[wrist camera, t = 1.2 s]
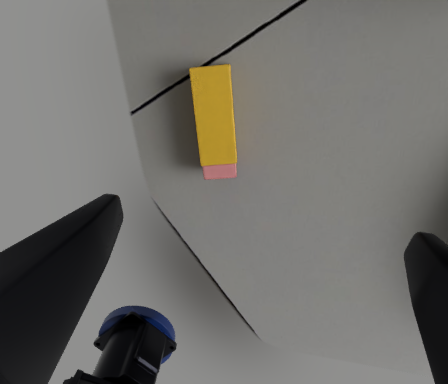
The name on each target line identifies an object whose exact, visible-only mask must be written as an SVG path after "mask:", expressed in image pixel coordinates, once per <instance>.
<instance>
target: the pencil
mask: <svg viewBox="0 0 448 384" xmlns="http://www.w3.org/2000/svg"><path fill="white" fill-rule="evenodd" d="M189 73H190V81H191V89H192V98H193V106H194V114H195V123H196V131H197V139H198V148H199V156H200V164H201V166H203V175H204V179H205V180H207V179H221V178H235V177H237V172H236V163H237V150H236V136H235V123H234V109H233V95H232V81H231V67H230V64H224V65H213V66H202V67H193V68H189Z"/></svg>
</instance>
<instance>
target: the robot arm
mask: <svg viewBox="0 0 448 384" xmlns="http://www.w3.org/2000/svg"><path fill="white" fill-rule="evenodd" d="M122 222H123V211H122V207H121V201H120V198H119V196H118V195H114V194H104V195H102V196H100V197H98V198H97V199H95V200H93V201H91V202H89V203H88V204H86V205H84V206H82V207H81V208H79V209H77V210H75V211H73V212H72V213H70V214H68V215H66V216H64V217H63V218H61V219H59V220H57V221H56V222H54V223H52V224H50V225H48V226H47V227H45V228H43V229H41V230H40V231H38V232H36V233H34V234H32V235H31V236H29V237H27V238H25V239H23V240H22V241H20V242H18V243H16V244H14V245H13V246H11V247H9V248H7V249H6V250H4V251H2V252H0V384H48V382H49V380H50V378H51V376H52V374H53V372H54V370H55V368H56V366H57V364H58V362H59V360H60V358H61V356H62V354H63V352H64V350H65V348H66V346H67V344H68V342H69V340H70V337H71V336H72V334H73V332H74V330H75V328H76V326H77V324H78V322H79V320H80V317H81V316H82V314H83V312H84V310H85V308H86V305H87V304H88V302H89V299H90V297H91V295H92V293H93V291H94V289H95V287H96V285H97V283H98V281H99V279H100V277H101V275H102V273H103V271H104V269H105V267H106V265H107V263H108V260H109V258H110V255H111V252H112V250H113V247H114V244H115V241H116V239H117V236H118V233H119V230H120V227H121V225H122ZM404 261H405V267H406V273H407V279H408V285H409V291H410V297H411V302H412V306H413V310H414V314H415V317H416V321H417V324H418V327H419V331H420V334H421V337H422V341H423V344H424V348H425V351H426V354H427V358H428V361H429V365H430V368H431V371H432V375H433V378H434V382H435V384H448V245H447V244H446V243H444V242H443V241H442V240H441V239H439V238H438V237H437V236H436V235H434V234H432V233H426V232H417V233H415V234H414V236H413V237H412V239H411V241H410V243H409V244H408V246H407V248H406V250H405V252H404ZM132 316H133V317H132ZM94 346H95V347H97V348H98V349H100V350H101V351H103V352H102V354H101V357H100V359H99V361H98V364H97V366H96V368H95V370H94V372H93V374H92V375H90V374H87V373H84V372H83V371H82V370H79V369H78V370H77V372H76V374H75V376H74V377H71V378H70V379H67V380H65V381H64V382H63V384H155V382H156V378H157V374H158V372H159V369H160V365H161V361H162V359H163V358H164V357H166V356H167V355H169V354H170V353H172V352H173V351H175V350H176V346H177V344H176V342H174V341H173V340H172V339H170V338H169V337H168V336H167V335H165V334H164V333H163V332H161V331H160V330H159V329H157V328H156V327H155V326H153V325H152V324H151V323H150V322H148V321H147V320H146V319H144V318H143V317H142V316H140V315H139V314H138V313H136V312H134V311H131V312H129V313H128V314H126V315H125V316H124V317H123V318H121V319H120V320H119V321H118V322H116V323H115V324H114V325H113V326H111V327H110V328H109V329H108V330H106V331H105V332H104V333H103V334H101V335H100V336H99V337H98V338H96V340H95V341H94Z"/></svg>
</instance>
